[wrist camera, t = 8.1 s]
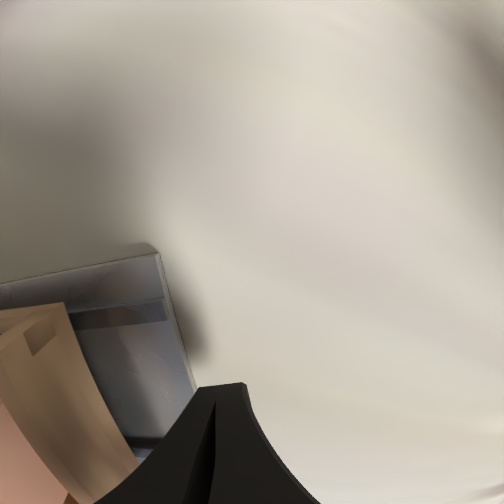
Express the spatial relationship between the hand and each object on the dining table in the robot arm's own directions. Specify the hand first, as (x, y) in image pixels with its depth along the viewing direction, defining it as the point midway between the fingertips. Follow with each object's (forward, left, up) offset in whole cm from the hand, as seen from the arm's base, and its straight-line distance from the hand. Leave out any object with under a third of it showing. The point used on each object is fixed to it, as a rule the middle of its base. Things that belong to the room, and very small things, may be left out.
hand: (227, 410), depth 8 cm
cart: (0, +8, -2) cm, 8 cm away
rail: (0, +13, -2) cm, 13 cm away
